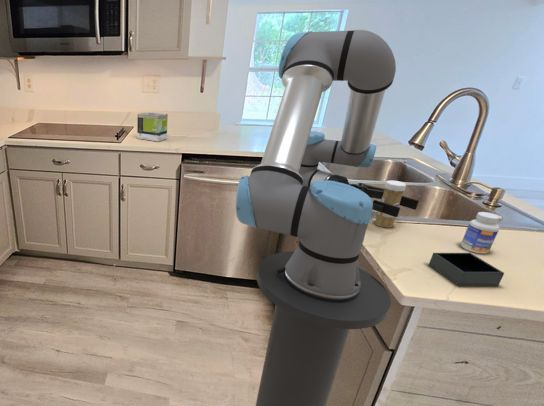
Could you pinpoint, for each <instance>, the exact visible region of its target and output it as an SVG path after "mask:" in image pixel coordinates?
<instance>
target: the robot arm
mask: <svg viewBox="0 0 544 406" xmlns="http://www.w3.org/2000/svg"><path fill="white" fill-rule="evenodd" d="M396 65H397V64H396V59H395V55H394V53H393V50H392V49H391V47H390V45H389V44H388V43H387V42H386V40H385V39H384V38H382V37H381V36H380V35H379V34H377V33H375V32H372V31H369V30H366V29H355V30H353V29H352V30H329V31H313V30H309V31H305V32H304V31H303V32H298V33H295V34H293V35H291V36H290V37H289V39H288V40H287V42H286V43H285V45H284V46H283V49H282V52H281V56H280V60H279V63H278V71H277V72H278V73H277V74H278V77H279V79H281V83H282V85H283V86H284V90H283V93H282V97H281V100H280V102H279V106H278V109H277V112H276V115H275V118H274V122H273V124H272V127H271V130H270V134H269V138H268V140H267V143H266V146H265V149H264V153H263V154H262V155H263V156H262V159H261V162H260V164H258V165H255V166H254V167H252V169H251V171H250V174H249V175H247V174H246V175H242V176H241V177H240V179H239V181H238V185H237V189H236V196H235V214H236V215H235V216H236V218H237V220H238V222H240V223H241V224H242V225H245V226H250V227H252V228H253V227H254V229H261V230H265V231H269V232H274V233H277V234H282V235H286V236H292V237H296V238H299V242H298V245H297V247H296V249H295V250H294V251H293V252H294V253H293V255H292V256H291V258H290V259H289V261H288V262H287V264H286V265H285V267H284V268H281V269H278V270H277V273H278V274H279V273H282V272H284V278H285V280H286V281H287V282H288V284H289V285H290V286H292V287H293V288H294V289H296V290H297V291H299V292H301V293H303V294H305V295H307V296H309V297H312V298H315V299H319V300H323V301H328V302H346V301H350V300H353V299H355V298H356V297H357V296H358V294H359V291H360V287H361V282H360V274H359V268H360V267H359V258H360V254H361V251H362V247H363V243H364V240H365V235H366V233H367V229H368V225H369V224H370V223H371V221H372V217H371V216H372V213H373V211H376V212H378V211H379V212H382V213H385V214H388V215H391V216H394V217H395V218H398V216H399V213H400V210H401V206H402V207H404V208H406V209H411V210H414V211H415V210H417V209H418V206H419V202H420V200H419V199H415V198H411V197H408V196H404V195H402V197H401V200H400V204H399V207H396V206H393V205H390V204H387V203H384V202H381V199H382V197H383V194H384V190H385V187H379V186H375V185H371V184H366V183H362V182H359V183H358V184H357V183H350V182H349V179H348V178H347V177H346V176H343V175H340V174H339V175H338V174H336V173H335V174H334V173H333V172H330V171H326V170H321V169H319V168H318V167H319V164H320V163H327V164H334V165H342V166H349V167H354V168H370V167H371V166H372V164H373V162H374V158H375V155H376V151H377V146H376V144H372V138H373V135H374V132H375V129H376V124H377V121H378V118H379V114H380V111H381V107H382V104H383V100H384V97H385V93H386V90H388V89H389V88H390V87H391V86H392V84H393V82H394V79H395V75H396V72H397V66H396ZM344 81H345V82H347V86H348V89H349V90H350V91H349V97H348V102H347V107H346V113H345V119H344V124H343V129H342V135H341V138H340V139H341V140H336V139H326V137H325V133H323V132H321V131H315V130H314V131H313V130H312V128H313V125H314V122H315V118H316V115H317V112H318V109H319V105H320V102H321V99H322V95H323V93H325V92H327V91H328V90H329V89H330V88H331V86H332V85H333V82H344ZM372 199H374V200H372Z"/></svg>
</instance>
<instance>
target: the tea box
mask: <svg viewBox="0 0 544 406" xmlns="http://www.w3.org/2000/svg"><path fill="white" fill-rule="evenodd" d="M168 118H169V117H168V113H161V112H151V111H145V112H140V113H137V118H136V120H137V122H136V123H137V124H136V125H137V126H136V127H137V129H136V130H137V131H136V132H137V135H136V136H137V138H136V139H140V140H146V141H152V142H161V141H164V140H166V139H168Z"/></svg>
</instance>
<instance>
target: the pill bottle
mask: <svg viewBox="0 0 544 406" xmlns="http://www.w3.org/2000/svg"><path fill="white" fill-rule="evenodd" d="M500 219H501V217H500V216H499V215H497V214H496V213H492V212H486V211H478V212H477V213H476V216H475V219H472V220H470V221H469V224H468V226H467V228H466V231H465V232H464V236H463V238H462V240H461V242H460V246H461V247H462V248H463V249H465V250H466V251H468V252H471V253H475V254H488V253H489V252H490V250H491V249H492V246H493V245H494V242H495V239H496V238H497V236H498V233H499V231H500V225H499V224H498V223H499V222H500Z"/></svg>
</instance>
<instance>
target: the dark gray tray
mask: <svg viewBox="0 0 544 406" xmlns="http://www.w3.org/2000/svg"><path fill="white" fill-rule="evenodd" d="M428 266H429V267H431V268H432V269H433V270H435V271H436V272H438V273H439V274H440V275H442V276H443V277H444V278H445V279H447V280H449V282H452V283H453V284H455V286H457V287H499V286H500V283H501V281H502V279H503V277H504V275H505V272H504V271H502V270H500V269H499V268H497V267H495V266H494V265H492V264H490V263H489V262H487V261H485V260H484V259H482V258H480V257H478V256H476V255H475V254H473V253H472V252H433V253H432V255H431V258H430V259H429V263H428Z"/></svg>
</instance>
